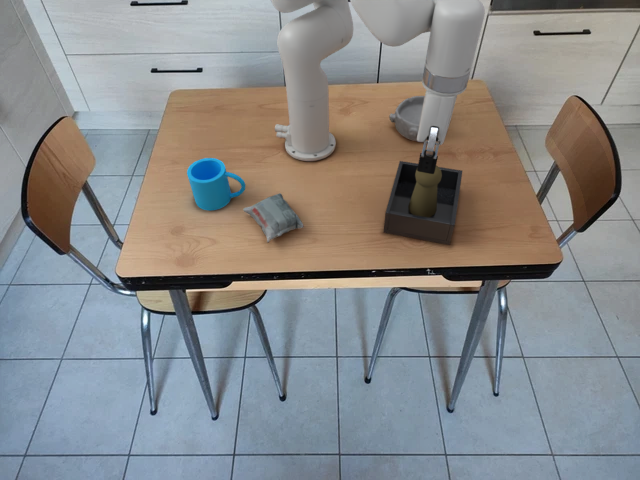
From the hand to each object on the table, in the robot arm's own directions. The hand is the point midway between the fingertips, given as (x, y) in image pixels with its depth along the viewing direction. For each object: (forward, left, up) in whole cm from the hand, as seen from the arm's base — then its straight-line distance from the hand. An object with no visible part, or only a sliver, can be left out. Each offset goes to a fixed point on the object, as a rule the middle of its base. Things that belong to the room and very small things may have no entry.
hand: (429, 155), depth 95 cm
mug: (-43, -7, -15) cm, 47 cm away
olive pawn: (+1, 0, -14) cm, 14 cm away
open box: (+1, 0, -15) cm, 15 cm away
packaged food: (-29, -12, -15) cm, 35 cm away
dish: (-4, +30, -15) cm, 34 cm away
